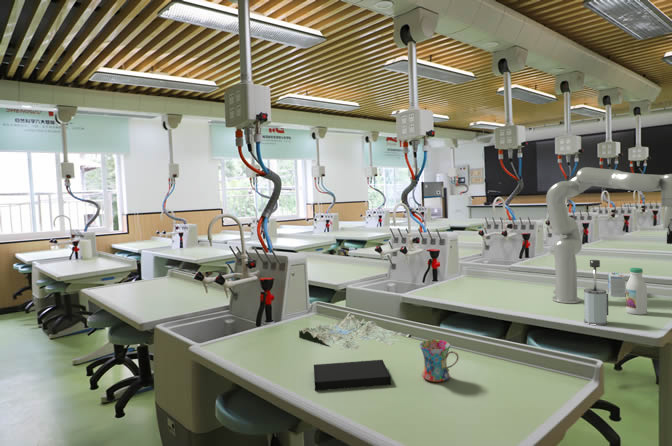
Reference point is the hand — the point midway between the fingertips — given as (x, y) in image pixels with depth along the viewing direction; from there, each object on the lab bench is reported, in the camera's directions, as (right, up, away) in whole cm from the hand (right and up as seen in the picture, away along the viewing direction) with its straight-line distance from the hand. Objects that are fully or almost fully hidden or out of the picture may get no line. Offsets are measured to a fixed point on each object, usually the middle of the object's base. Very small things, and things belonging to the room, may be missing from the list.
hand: (671, 242), depth 188 cm
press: (-36, -33, -5) cm, 49 cm away
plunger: (-36, -22, -6) cm, 43 cm away
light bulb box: (+2, -29, +40) cm, 49 cm away
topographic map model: (-137, -39, -9) cm, 143 cm away
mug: (-112, -40, -53) cm, 131 cm away
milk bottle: (-11, -32, +6) cm, 34 cm away
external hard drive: (-140, -42, -49) cm, 154 cm away
